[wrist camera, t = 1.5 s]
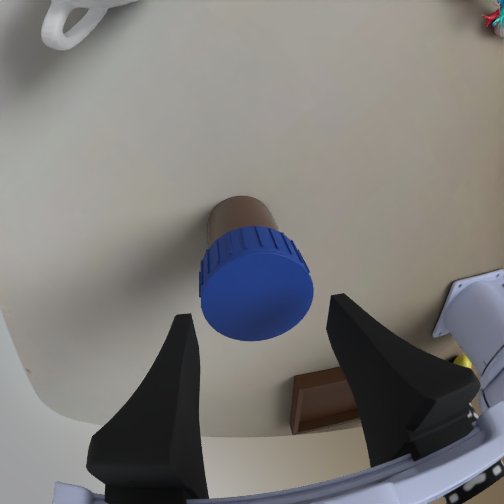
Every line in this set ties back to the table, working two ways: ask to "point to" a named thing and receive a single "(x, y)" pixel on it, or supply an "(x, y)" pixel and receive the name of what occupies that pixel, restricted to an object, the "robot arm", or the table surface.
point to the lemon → (463, 361)
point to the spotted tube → (479, 481)
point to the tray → (321, 401)
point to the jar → (238, 216)
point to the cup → (57, 14)
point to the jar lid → (254, 284)
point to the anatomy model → (497, 19)
